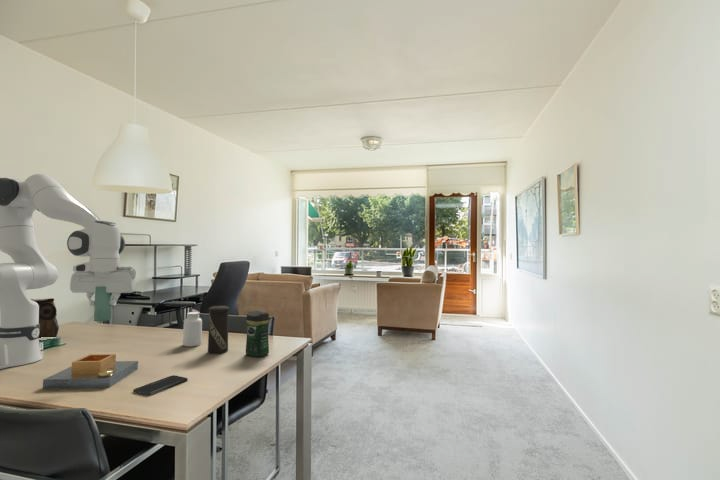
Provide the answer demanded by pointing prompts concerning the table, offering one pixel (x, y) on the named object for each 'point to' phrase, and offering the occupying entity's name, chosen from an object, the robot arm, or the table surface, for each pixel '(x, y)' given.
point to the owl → (47, 317)
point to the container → (218, 329)
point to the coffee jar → (257, 334)
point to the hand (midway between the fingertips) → (103, 305)
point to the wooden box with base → (91, 373)
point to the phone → (160, 385)
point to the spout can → (102, 305)
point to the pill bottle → (192, 330)
